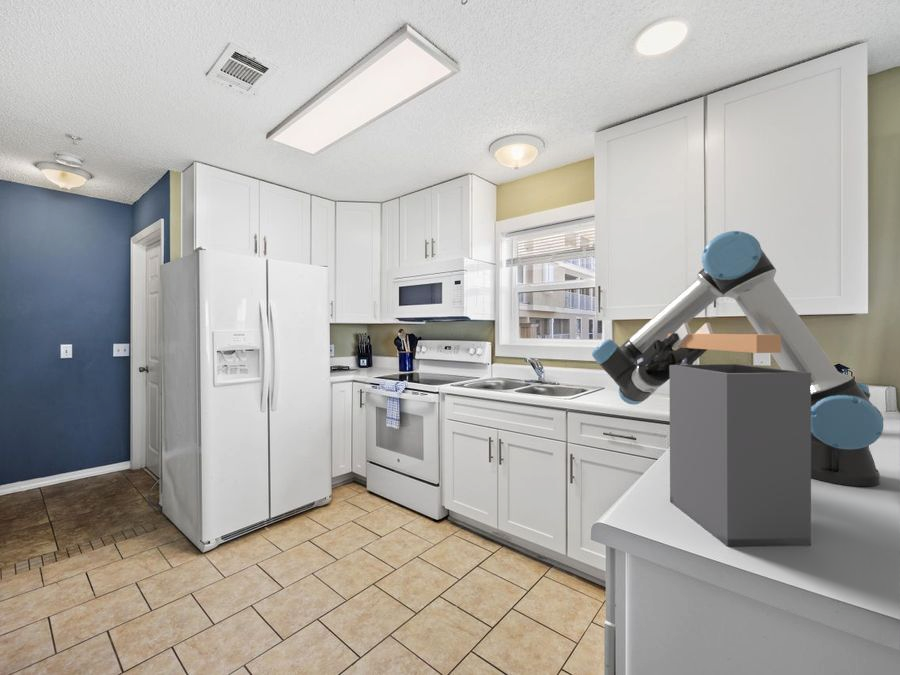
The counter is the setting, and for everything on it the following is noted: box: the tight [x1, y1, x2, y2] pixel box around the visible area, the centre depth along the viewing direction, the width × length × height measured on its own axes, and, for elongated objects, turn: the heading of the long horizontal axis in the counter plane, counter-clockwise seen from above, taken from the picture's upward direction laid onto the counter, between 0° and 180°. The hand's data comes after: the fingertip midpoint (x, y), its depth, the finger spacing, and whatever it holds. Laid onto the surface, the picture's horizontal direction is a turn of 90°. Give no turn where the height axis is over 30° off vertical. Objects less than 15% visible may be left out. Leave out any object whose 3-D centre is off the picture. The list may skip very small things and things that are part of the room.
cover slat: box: [668, 333, 781, 354], centre depth 82 cm, size 28×4×3 cm, turn 0°
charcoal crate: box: [669, 363, 812, 547], centre depth 78 cm, size 14×18×29 cm
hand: (698, 328), depth 88 cm, fingers closed on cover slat, 4 cm apart
